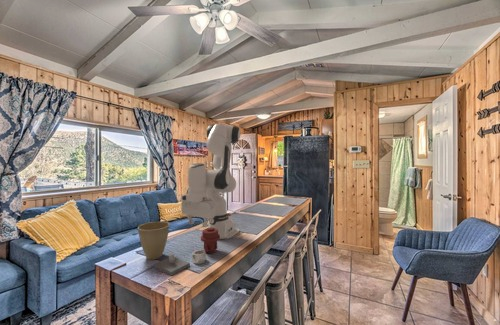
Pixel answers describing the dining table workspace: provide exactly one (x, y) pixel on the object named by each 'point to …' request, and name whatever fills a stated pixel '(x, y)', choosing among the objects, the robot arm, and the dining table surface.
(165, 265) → the shaft base
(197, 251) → the steel collar
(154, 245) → the plant pot
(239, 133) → the robot arm
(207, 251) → the mechanical component
